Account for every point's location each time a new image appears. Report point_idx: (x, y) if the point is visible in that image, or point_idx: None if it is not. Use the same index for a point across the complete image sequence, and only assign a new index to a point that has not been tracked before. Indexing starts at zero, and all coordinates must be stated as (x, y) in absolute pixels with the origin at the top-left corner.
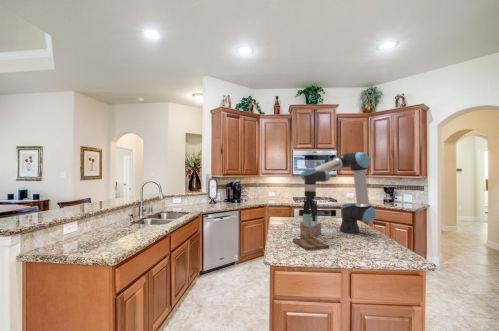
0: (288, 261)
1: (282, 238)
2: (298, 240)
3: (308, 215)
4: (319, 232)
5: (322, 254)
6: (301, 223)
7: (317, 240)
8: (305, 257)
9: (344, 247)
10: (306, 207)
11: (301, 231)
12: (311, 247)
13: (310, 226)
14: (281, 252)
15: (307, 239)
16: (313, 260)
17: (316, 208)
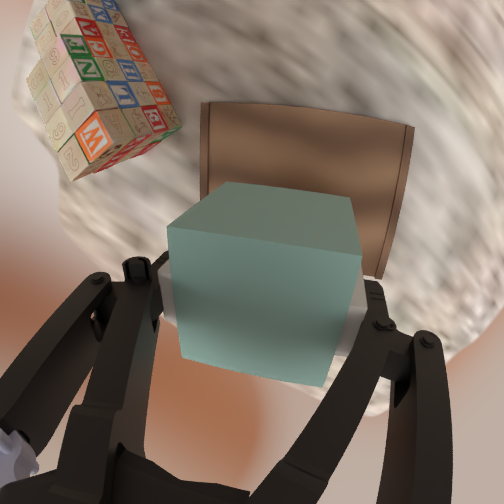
0: None
1: (140, 254)
2: None
3: (295, 368)
4: (111, 8)
5: (460, 241)
6: (85, 172)
7: (270, 107)
8: (436, 328)
9: (425, 29)
10: (143, 407)
11: (125, 158)
12: (388, 252)
13: (115, 95)
14: (335, 368)
15: (225, 160)
16: (474, 320)
17: (445, 445)
